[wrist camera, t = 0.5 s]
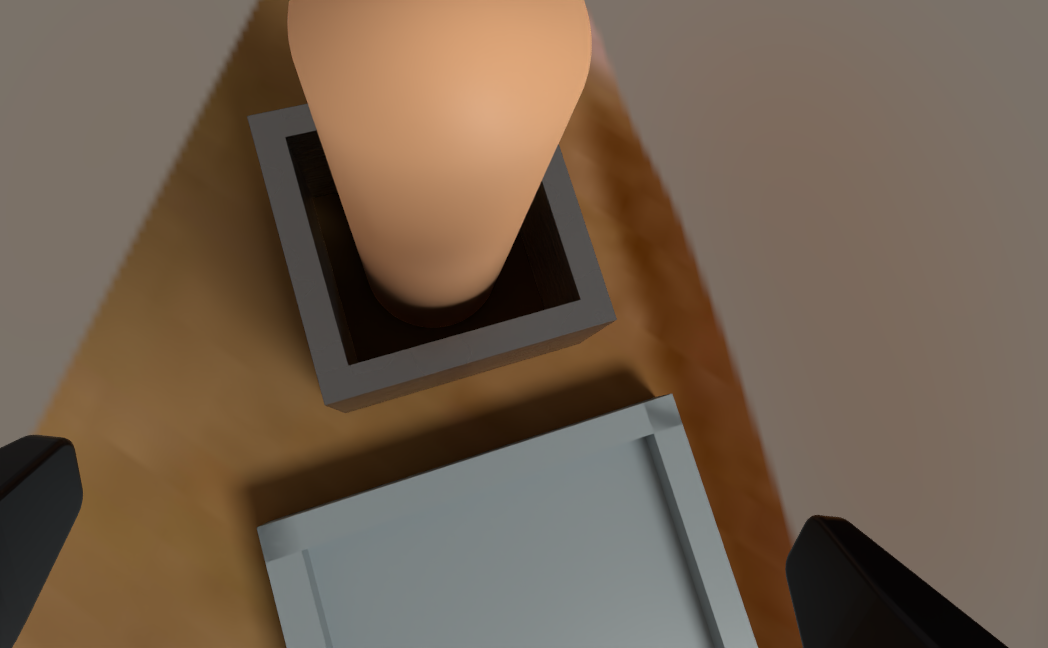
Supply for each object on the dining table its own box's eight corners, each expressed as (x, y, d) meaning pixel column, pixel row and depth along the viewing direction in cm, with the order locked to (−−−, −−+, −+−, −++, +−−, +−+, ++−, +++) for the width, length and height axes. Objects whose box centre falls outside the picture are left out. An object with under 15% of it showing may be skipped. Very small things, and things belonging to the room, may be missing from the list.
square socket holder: (579, 343, 23) (616, 319, 18) (345, 412, 21) (324, 405, 17) (510, 129, 24) (530, 58, 19) (282, 181, 22) (247, 116, 18)
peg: (513, 307, 22) (630, 133, 10) (385, 343, 22) (333, 203, 9) (476, 188, 23) (541, -123, 10) (350, 218, 22) (253, -80, 10)
